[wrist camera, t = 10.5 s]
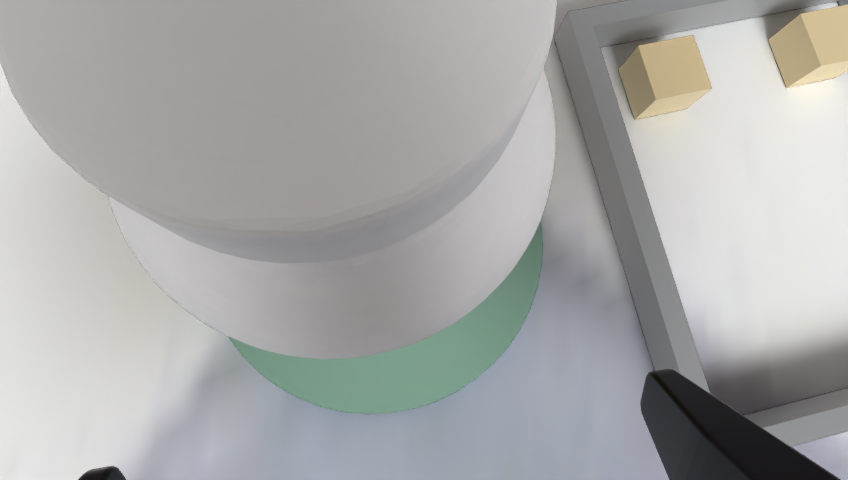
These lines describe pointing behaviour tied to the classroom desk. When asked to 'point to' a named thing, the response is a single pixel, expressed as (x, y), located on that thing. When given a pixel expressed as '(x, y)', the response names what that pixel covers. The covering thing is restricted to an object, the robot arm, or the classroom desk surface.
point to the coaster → (412, 355)
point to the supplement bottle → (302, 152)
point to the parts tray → (667, 92)
